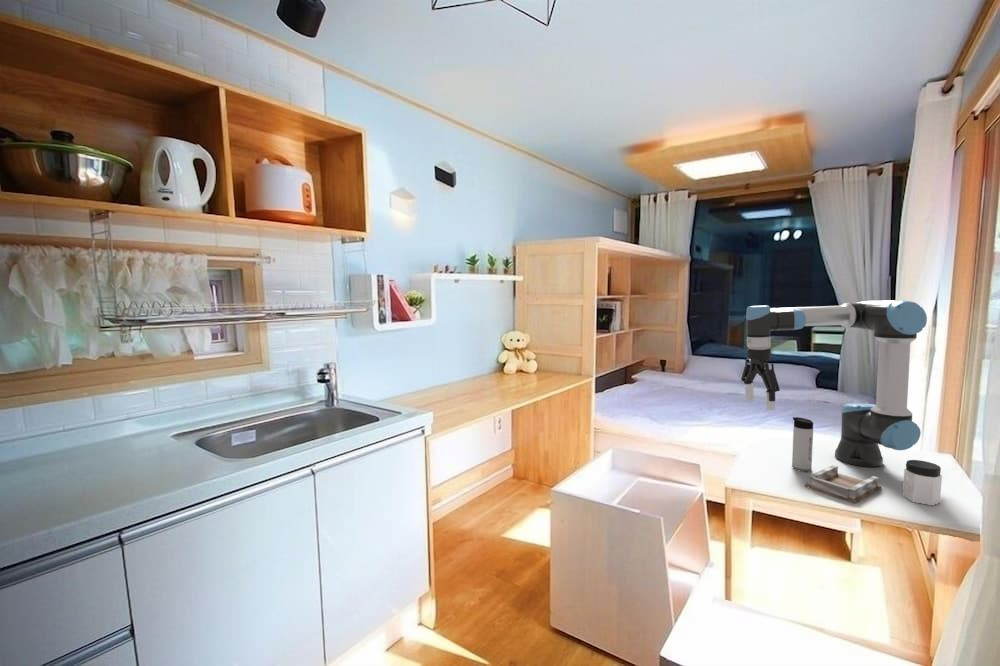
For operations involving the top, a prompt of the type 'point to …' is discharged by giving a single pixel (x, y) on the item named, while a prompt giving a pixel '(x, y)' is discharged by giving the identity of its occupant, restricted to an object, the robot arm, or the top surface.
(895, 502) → the top surface
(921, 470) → the jar
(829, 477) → the tray
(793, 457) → the travel mug
